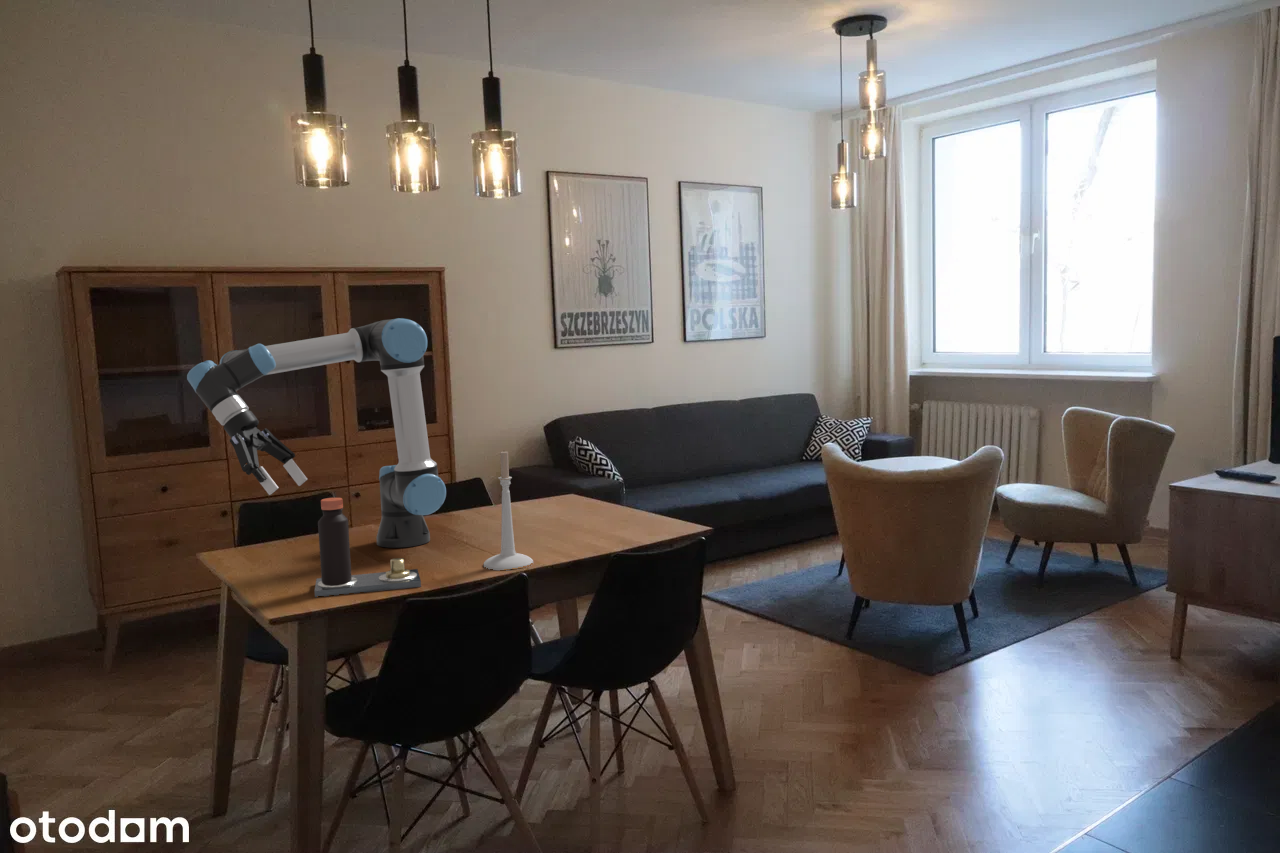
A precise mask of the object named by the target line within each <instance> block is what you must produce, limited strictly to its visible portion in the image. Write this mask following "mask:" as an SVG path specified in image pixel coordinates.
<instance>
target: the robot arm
mask: <svg viewBox="0 0 1280 853" xmlns="http://www.w3.org/2000/svg"><path fill="white" fill-rule="evenodd" d="M427 348H428V337H427V334H426V332H425V330H424V329H423V327H422V326H421V325H420V324H419V323H417V322H416V321H414V320H411V319H409V318H403V317H401V318H399V317H398V318H393V319H383V320H380V321H374V322H373V323H372V322H371V323H369V324H366V325H362V326H359V327H353V328H350V329H349V330H348V332H344V333H338V334H331V335H325V336H320V337H313V338H307V339H302V340H301V339H300V340H296V341H295V340H294V341H289V342H282V343H275V344H271V345H270V344H269V345H264V344H262V343H257V344H254V345H252V346H249V347H248V348H246V349H239V350H236V349H235V350H231V351H230V350H229V351H228V352H225V353H224V354H223V355H222V356H221V358H220V360H219V364H217V363H215V362H214V361H213V360H204V361H203V362H199V363H197V364H196V365H195V366H193V367H192V368H190V370H189V371H188V373H187V375H186V380H187V381H188V383H189V384H190V385H191V387H192V388H193V390H194V392H195V393H196V394H197V395H198V397H199V399H200V400H201V401H202V402H203V404H204V405H205V406H206V408H208V410H209V411H210V412H211V413H212V415H213V416H214V417H215V420H216V421H217V422H218V423H219V424H220V425H221V426H223V430H224V431H225V432H226V434H227V435H228V436H229V438H230V439H229V442H230V444H231V446H232V447H233V449H234V451H235V455H236V457H237V460H238V463H239V465H240V467H241V471H242V472H244V473H245V474H246V475H248V476H250V475H253V476H254V477H255V478H256V480H257V481H258V482H259V484H260V485H261V487H263V489H264V491H266V493H267V495H268V496H271V495H272V494H273V493H274V492H276V491H277V490H278V489H280V487H279V486H278V485H277V484H276V482H275V481H274V480H273V478H272V477H271V475H270V473H268V471H267V470H266V468H264V466H263V465H262V466H261V465H260V463H259V456H258V451H260V452H265V453H266V454H269V455H270V456H271V457H273V458H274V459H275V460H278V461H279V462H280V463H282V464H283V465H282V466H283V468H284V469H285V470H286V472H287V473H288V474H289V476H290V477H291V478H292V479H293V481H294V482H295V483H296V485H297V486H298V487H300V486H302V485H303V484H304V483H305V482H307V481H308V477H307V476H306V475H305V473H304V472H303V471H302V469H301V468H300V467H299V466H298V465H297V463H296V462H295V460H294V458H296V454H295V452H294V451H292V450H291V449H290V448H289V447H287V446H286V445H285V444H284V443H283V442H282V441H281V440H280V439H278V438H277V437H276V436H275V435H274V434H273V433H272V432H271V431H270V430H269V429H267V427H266V428H264V429H263V430H262V431H261V430H260V429H259V427H258V425H259V424H260V423H259V422H260V421H259V419H258V418H257V416H256V415H255V414H254V413H253V411H252V410H249V408H250V407H249V406H248V405H247V403H246V402H245V401H244V399H243V398H242V397H241V396H240V394H239V393H238V391H239V390H241V389H243V388H244V387H245V386H247V385H249V384H251V383H253V382H255V381H256V380H258V379H260V378H262V377H264V376H268V375H273V374H279V373H284V372H285V373H286V372H290V371H296V370H301V369H307V368H312V367H313V368H314V367H319V366H324V365H330V364H335V363H336V364H337V363H341V362H347V361H355V362H356V363H362V362H371V361H376V362H377V361H378V362H379V364H380V372H382V373H383V374H384V375H386V377H387V382H388V390H389V398H390V404H391V412H392V422H393V427H394V435H395V442H396V450H397V458H398V463H397V464H393V465H385V466H382V467H381V468H380V469H379V475H378V476H379V477H378V480H379V493H380V510H381V512H380V513H381V520H380V523H379V526H378V530H377V534H376V545H377V546H378V547H380V548H381V547H383V548H389V549H390V548H392V549H393V548H397V549H398V548H409V547H416V546H420V545H425V544H427V543H429V542H430V541H431V533H430V531H429V527H428V525H427V522H426V520H425V516H428V515H431V514H433V513H435V512H436V511H438V510H439V509H440V508H441V507H442V506H443V504H444V502H445V500H446V497H447V488H446V484H445V482H444V481H443V480H442V478H441V477H439V470H438V463H437V462H436V461H434V460H433V459H432V458H431V454H430V453H431V452H430V445H429V443H430V442H429V438H428V436H429V435H428V429H427V421H426V420H427V419H426V415H425V414H426V412H425V405H424V397H423V396H424V395H423V391H422V390H423V389H422V382H421V381H422V380H421V375H420V374H421V372H422V370H423V369H424V368H425V359H424V355H425V353H426V351H427Z"/></svg>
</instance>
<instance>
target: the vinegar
mask: <svg viewBox="0 0 1280 853" xmlns="http://www.w3.org/2000/svg"><path fill="white" fill-rule="evenodd" d="M320 507H321V512H322V516H321V517H320V518H319V520H318V521H317V526H318V527H317V531H318V544H319V546H318V547H319V557H320V558H319V560H320V576H321V577H320V578H322V583H323V584H325V585H340V584H345V583H348V582H350V581H351V579H352V577H351V575H352V564H351V563H352V562H351V550H350V549H351V548H350V546H351V545H350V530H349V519H348V517H347V516H345V515H344V514H343V510H344V500H343V498H342V497H327V498H323V499H321V500H320Z"/></svg>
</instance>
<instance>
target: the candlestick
mask: <svg viewBox="0 0 1280 853" xmlns="http://www.w3.org/2000/svg"><path fill="white" fill-rule="evenodd" d="M499 453H500V457H499V458H500V477H497V478H498V480H499V481H500V486H501V488H502V491H501V528H500V529H501V535H500V536H501V541H500V542H501V543H500V545H501V546H500V553H499V554H495V555H493V556H491V557H489V558H487V559H485V561H484V562H483V567H484V568H485V567H486V568H485V569H487V568H488V569H487V570H490V569H493V570H492V571H500V570H504V569H512V568H518V567H523V566H527V565H530V564H531V563H533V564H534V560H533V559H532V558H531V557H530V556H528V555H526V554H523V553H518V552H517V551H516V549H515V547H516V546H515V538H514V537H515V536H514V529H513V528H514V526H513V516H512V515H513V514H512V504H511V493H510V485H511V479H513V477H512V476H510V471H509V470H510V469H509V465H510V464H509V451H501V452H499Z"/></svg>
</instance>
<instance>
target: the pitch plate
mask: <svg viewBox="0 0 1280 853" xmlns="http://www.w3.org/2000/svg"><path fill="white" fill-rule="evenodd" d="M351 577H352V579H351V581H350V582H348V583H345V584H340V585H325V584H323V583H322V578H321V577H319V578H316V579H315V580H316V581H315V584H314V585H315V586H314V598H318V597H317V596H324V597H330V596H329V595H334V596H340V595H339V594H344V595H350V594H349V593H354V594H361V593H360V592H364V593H373V592H382V591H393V590H394V591H395V590H401V589H402V590H403V589H413V588H420V587H422V581H421V577H420V574H419V570H418V568H415V569H414V568H413V569H407V568H405V559H404V558H400V557H397V558H392V559H390V570H388V571H383V572H381V571H380V572H374V573H371V572H370V573H362V574H360V573H359V574H351Z"/></svg>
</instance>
